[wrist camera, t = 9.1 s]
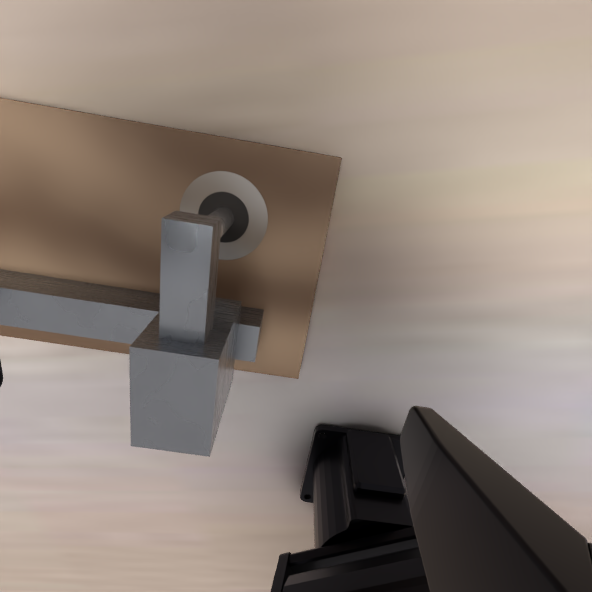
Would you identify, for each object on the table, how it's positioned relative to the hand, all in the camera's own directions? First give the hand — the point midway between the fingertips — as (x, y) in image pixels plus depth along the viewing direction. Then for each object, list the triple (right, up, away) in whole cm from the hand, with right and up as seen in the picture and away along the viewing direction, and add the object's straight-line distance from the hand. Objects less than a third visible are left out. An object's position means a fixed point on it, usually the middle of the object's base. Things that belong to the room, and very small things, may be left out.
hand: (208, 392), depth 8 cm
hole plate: (-9, +5, +11) cm, 15 cm away
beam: (-11, +4, +10) cm, 16 cm away
